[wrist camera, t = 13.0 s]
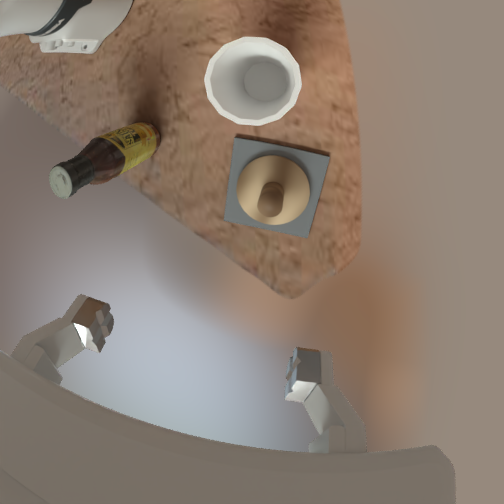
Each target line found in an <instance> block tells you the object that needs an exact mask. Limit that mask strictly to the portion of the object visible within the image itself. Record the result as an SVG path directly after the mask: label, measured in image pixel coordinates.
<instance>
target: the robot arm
mask: <svg viewBox="0 0 504 504" xmlns="http://www.w3.org/2000/svg"><path fill="white" fill-rule="evenodd" d="M132 2H133V0H0V37H2V36H8V35H14V34H23V33H24V34H26V35H28V36H29V38H30V40H31V42H32V43H39V44H40V48H41V51H42V52H65V53H88V54H92V53H94V52H95V51H96V50H97V49H98V48H99V46H100V44H101V43H102V41H103V40H104V39H105V38H106V37H107V36H108V35H109V34H110V33H111V32H113V31H114V30H115V29H116V28H117V27H118V26H119V25H120V23H121V22H122V21H123V20H124V18H125V17H126V15H127V13H128V11H129V9H130V7H131V5H132ZM86 46H87V48H86ZM110 309H111V308H110V305H109V304H108V303H105V302H102V301H99V300H96V299H94V298H91V297H88V296H85V295H82V294H80V295H79V296H77V298H76V299H75V301H74V302H73V303H72V305H71V306H70V308H69V309H68V310H67V312H66V313H65V315H64V316H63V318H58V319H56V320H54V321H52V322H50V323H48V324H46V325H44V326H42V327H41V328H38V329H36V330H35V331H33V332H31V333H29V334H27V335H25V336H23V337H22V339H21V340H20V342H19V343H18V345H17V346H16V348H15V349H14V351H13V353H12V354H11V356H9V355H8V354H6V353H5V352H3V351H2V350H0V504H455V502H456V484H455V471H454V466H453V464H452V463H451V461H450V460H449V459H448V458H447V456H446V455H445V454H444V453H443V452H442V451H441V450H440V449H439V448H438V447H437V446H434V445H430V446H423V447H416V448H409V449H401V450H392V451H381V452H367V449H366V448H367V447H366V430H365V424H364V423H363V421H362V420H361V419H360V417H359V416H358V414H357V413H356V412H355V410H354V409H353V407H352V406H351V405H350V403H349V402H348V400H347V399H346V398H345V396H344V395H343V393H342V392H341V391H340V389H339V388H338V386H335V385H334V381H333V363H332V354H331V352H327V351H319V350H315V349H306V348H299V347H296V348H295V349H294V351H293V357H290V359H289V362H288V365H287V370H286V379H287V380H288V382H287V384H286V386H285V396H284V400H288V401H296V402H302V403H303V404H304V406H305V408H306V410H307V412H308V414H309V416H310V418H311V420H312V422H313V423H314V425H315V427H316V429H317V431H318V433H319V435H320V436H319V437H317V438H316V439H315V440H313V441H312V442H311V443H310V444H309V449H308V452H292V451H281V450H270V449H263V448H255V447H247V446H242V445H235V444H230V443H225V442H219V441H214V440H210V439H205V438H201V437H197V436H192V435H188V434H184V433H181V432H177V431H173V430H170V429H166V428H163V427H160V426H156V425H153V424H150V423H147V422H144V421H141V420H138V419H135V418H133V417H130V416H127V415H124V414H122V413H119V412H117V411H114V410H112V409H109V408H107V407H104V406H102V405H100V404H97V403H95V402H92V401H90V400H88V399H86V398H84V397H82V396H80V395H77V394H75V393H73V392H71V391H69V390H67V389H65V388H63V387H61V386H59V385H60V383H61V381H62V376H61V374H60V373H59V371H58V370H57V368H59V367H60V366H61V365H63V364H64V363H66V362H67V361H68V360H70V359H71V358H73V357H74V356H75V355H77V354H78V353H79V352H81V351H82V350H84V349H85V348H87V349H89V350H92V351H95V352H98V353H100V352H101V350H102V348H103V346H104V344H105V337H107V336H109V335H110V333H111V331H112V329H113V325H114V319H113V316H112V314H110V312H109V311H110Z"/></svg>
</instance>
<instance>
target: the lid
mask: <svg viewBox="0 0 504 504" xmlns="http://www.w3.org/2000/svg"><path fill="white" fill-rule="evenodd" d="M236 192H237V198H238V201H239V203H240V205H241V207H242V208H243V210H244V211H245V212H246V213H247V214H248V215H249V216H250V217H252V218H253V219H255V220H257V221H259V222H261V223H265V224H270V225H279V224H285V223H288V222H290V221H292V220H294V219H296V218H297V217H298V216H299V215H300V214H301V213H302V212H303V211H304V209H305V208H306V206H307V204H308V201H309V196H310V188H309V182H308V179H307V176H306V174H305V173H304V171H303V170H302V169H301V167H300V166H299V165H298V164H296V163H295V162H294V161H292V160H290V159H288V158H285V157H282V156H277V155H268V156H263V157H259V158H257V159H255V160H253V161H252V162H250V163H249V164H248V165H247V166H246V167H245V168H244V169H243V171H242V172H241V174H240V176H239V178H238V181H237V187H236Z"/></svg>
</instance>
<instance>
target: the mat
mask: <svg viewBox="0 0 504 504" xmlns="http://www.w3.org/2000/svg"><path fill="white" fill-rule="evenodd" d="M268 155H277V156H282V157H285V158H288V159H290V160H292V161H294V162H295V163H296V164H298V165H299V166H300V167H301V169H302V170H303V171H304V173H305V174H306V176H307V179H308V182H309V188H310V196H309V201H308V204H307V206H306V208H305V209H304V211H303V212H302V213H301V214H300V215H299V216H298V217H297V218H296V219H294V220H292V221H290V222H288V223H285V224H279V225H270V224H265V223H261V222H259V221H257V220H255V219H253V218H252V217H250V216H249V215H248V214H247V213H246V212H245V211H244V210H243V208H242V207H241V205H240V203H239V201H238V198H237V192H236V187H237V181H238V178H239V176H240V174H241V172H242V171H243V169H244V168H245V167H246V166H247V165H248V164H249V163H250V162H252V161H253V160H255V159H257V158H259V157H263V156H268ZM329 158H330V157H329V156H326V155H322V154H318V153H313V152H309V151H305V150H300V149H296V148H291V147H287V146H282V145H277V144H272V143H267V142H261V141H256V140H250V139H244V138H238V137H235V139H234V146H233V153H232V160H231V168H230V175H229V183H228V191H227V199H226V207H225V216H224V221H228V222H233V223H238V224H243V225H248V226H253V227H257V228H262V229H267V230H272V231H277V232H281V233H286V234H291V235H295V236H300V237H304V238H308V234H309V231H310V227H311V224H312V221H313V217H314V214H315V210H316V207H317V203H318V199H319V196H320V192H321V189H322V185H323V181H324V177H325V174H326V170H327V166H328V162H329Z"/></svg>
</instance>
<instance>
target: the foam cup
mask: <svg viewBox="0 0 504 504" xmlns="http://www.w3.org/2000/svg"><path fill="white" fill-rule="evenodd" d="M204 81H205V86H206V91H207V97H208V99H209V101H210V102H211V103H212V104H213V106H214V107H215V108H216V110H217V111H218V112H219V114H220V115H222V116H224V117H226V118H228V119H230V120H232V121H234V122H235V123H237V124H245V125H256V126H260V125H263V124H266V123H269V122H272V121H275V120H278V119H280V118H281V117H282V116H283V115H284V114H285V113H286V112H287V111H289V110H290V109H291V108H292V107H293V106H294V105H295V103H296V100H297V97H298V95H299V92H300V89H301V86H302V83H301V76H300V69H299V65H298V63H297V62H296V60H295V59H294V58H293V56H292V55H291V54H290V52H289V51H288V50H287V48H285V47H284V46H282V45H280V44H278V43H276V42H274V41H272V40H270V39H268V38H261V37H242V38H240V39H237V40H235V41H232V42H230V43H227V44H225V45H223V46H222V48H221V49H220V50H219V51H218V52H217V53H216V54H215V55H214V56H213V57H212V58H211V59H210V61H209V64H208V68H207V71H206V75H205V78H204Z"/></svg>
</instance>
